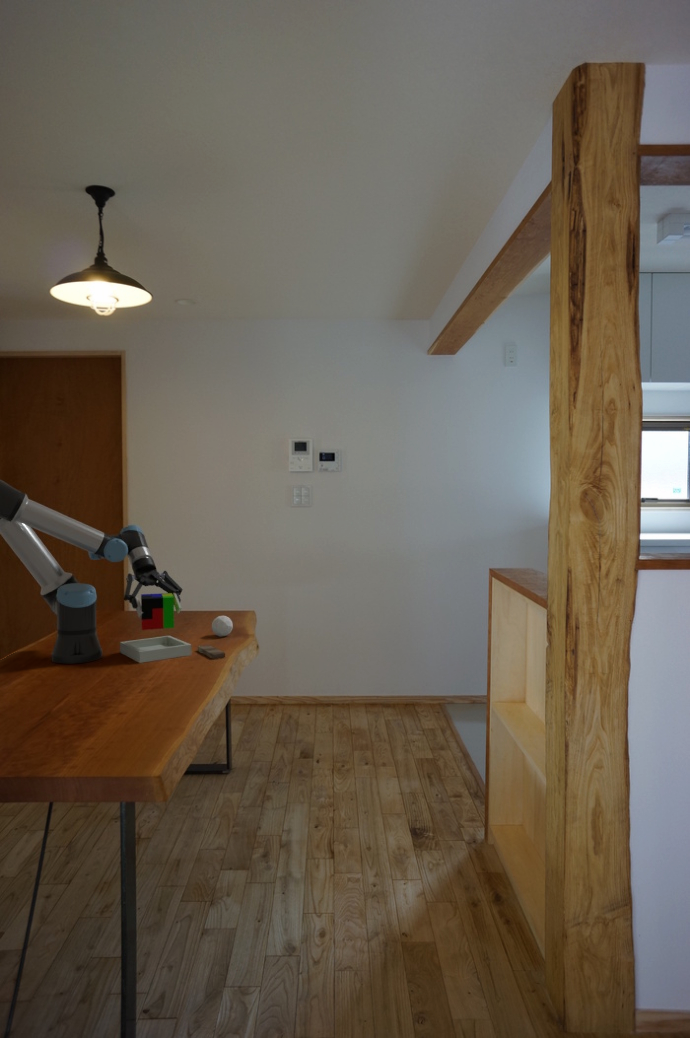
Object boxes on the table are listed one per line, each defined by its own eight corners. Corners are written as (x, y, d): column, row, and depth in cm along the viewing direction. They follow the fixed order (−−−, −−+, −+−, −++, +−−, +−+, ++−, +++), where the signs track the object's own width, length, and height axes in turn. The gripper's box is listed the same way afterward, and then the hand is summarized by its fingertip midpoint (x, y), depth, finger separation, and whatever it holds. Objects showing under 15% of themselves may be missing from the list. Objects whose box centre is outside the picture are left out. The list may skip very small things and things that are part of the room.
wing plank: (225, 659, 217) (225, 653, 217) (213, 660, 215) (213, 654, 215) (208, 650, 229) (208, 644, 229) (197, 652, 227) (197, 646, 227)
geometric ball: (222, 644, 249) (215, 629, 244) (211, 633, 254) (205, 619, 249) (239, 632, 252) (232, 618, 247) (228, 622, 257) (222, 607, 252)
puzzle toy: (141, 623, 225) (141, 594, 224) (172, 622, 228) (171, 593, 228) (142, 629, 215) (141, 599, 215) (174, 627, 218) (173, 597, 218)
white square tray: (139, 662, 210) (139, 651, 209) (120, 652, 223) (120, 642, 223) (191, 655, 220) (191, 644, 220) (169, 645, 234) (169, 635, 234)
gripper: (172, 567, 241) (191, 615, 230) (104, 572, 226) (120, 624, 214) (178, 553, 236) (198, 602, 225) (109, 558, 221) (126, 610, 210)
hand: (160, 613), depth 220 cm, fingers closed on puzzle toy, 12 cm apart
